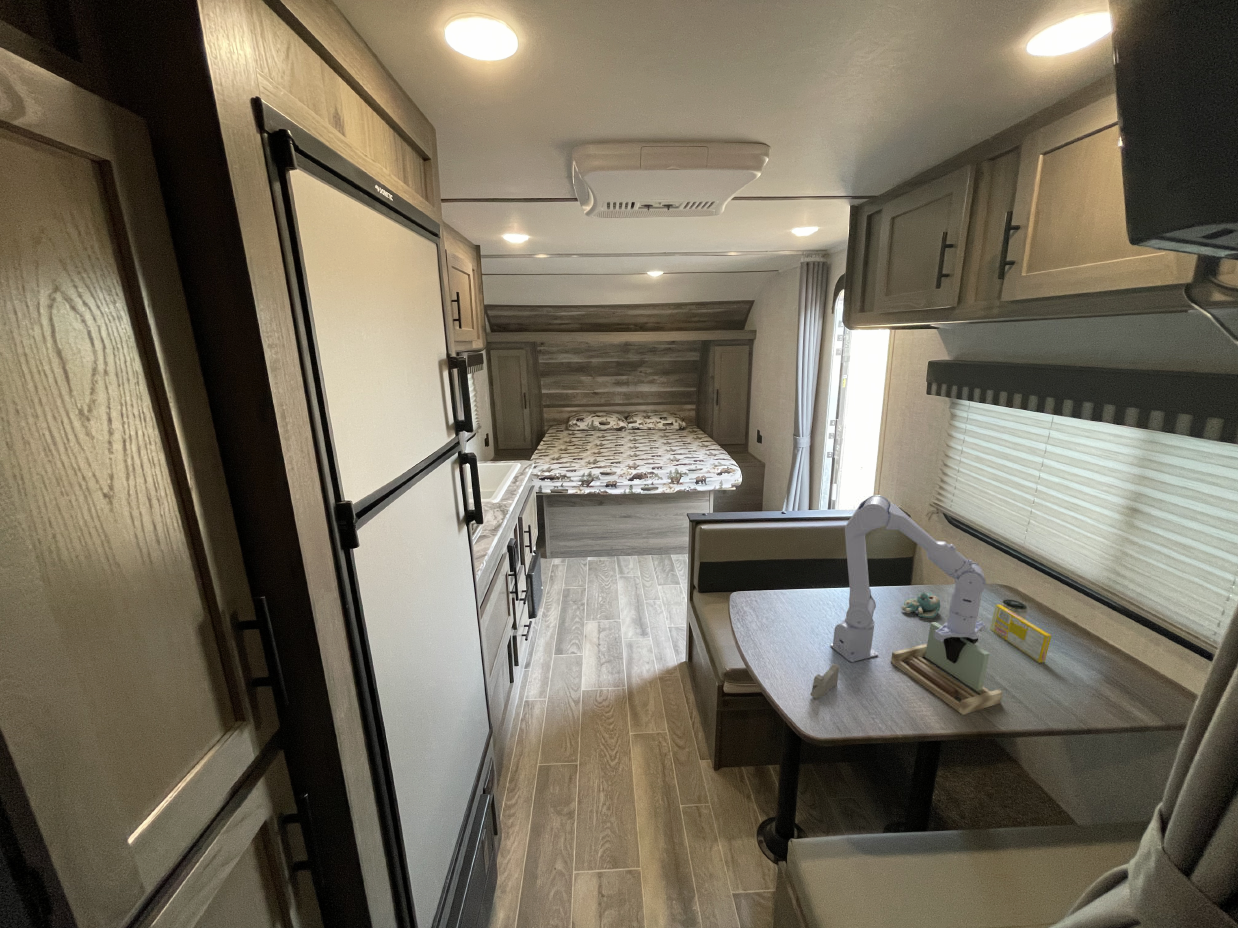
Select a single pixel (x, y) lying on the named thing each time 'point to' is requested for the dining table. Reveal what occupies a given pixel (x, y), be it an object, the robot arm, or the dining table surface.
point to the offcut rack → (968, 697)
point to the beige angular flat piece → (825, 682)
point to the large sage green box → (959, 659)
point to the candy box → (1020, 633)
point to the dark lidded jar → (1015, 607)
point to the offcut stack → (933, 679)
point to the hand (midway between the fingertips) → (954, 659)
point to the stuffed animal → (923, 605)
